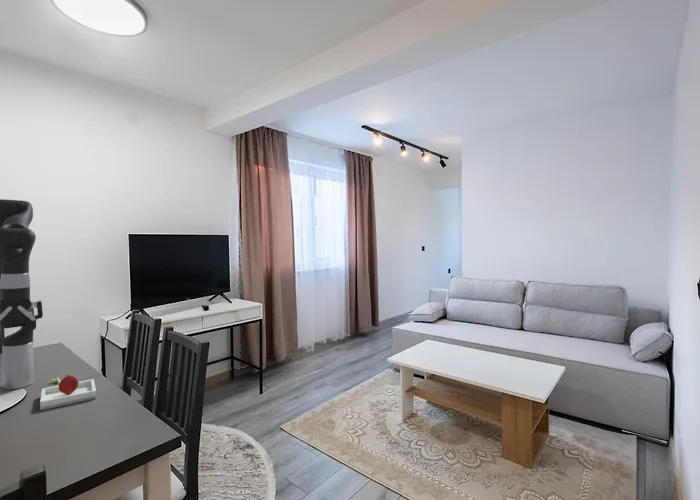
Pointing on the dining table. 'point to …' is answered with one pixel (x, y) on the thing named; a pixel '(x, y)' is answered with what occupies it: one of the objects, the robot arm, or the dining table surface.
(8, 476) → the dining table surface
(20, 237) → the robot arm
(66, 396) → the tray
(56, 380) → the key
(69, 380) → the onion
